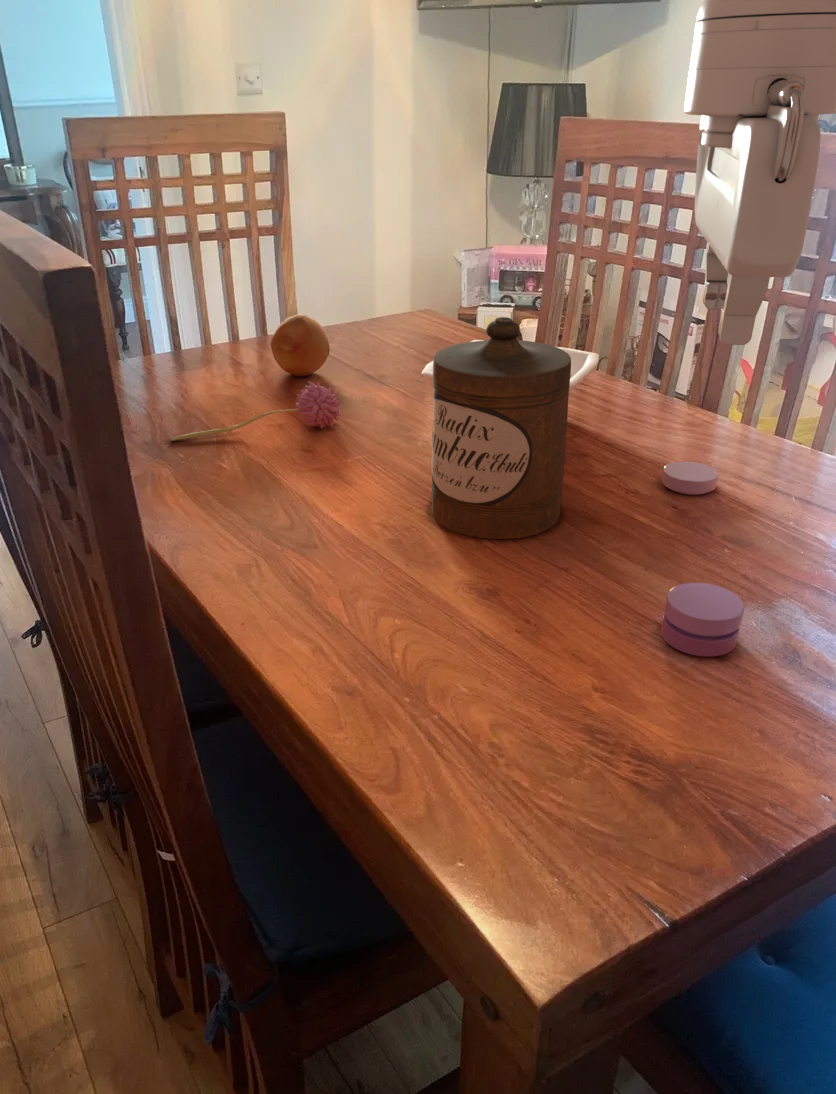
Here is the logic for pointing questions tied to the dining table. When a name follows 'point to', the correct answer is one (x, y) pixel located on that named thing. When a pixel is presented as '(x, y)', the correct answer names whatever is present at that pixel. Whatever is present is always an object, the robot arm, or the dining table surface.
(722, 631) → the lavender disc
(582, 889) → the dining table surface
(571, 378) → the bowl
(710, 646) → the mauve disc
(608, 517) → the dining table surface
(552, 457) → the wooden container
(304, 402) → the artificial flower
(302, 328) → the onion
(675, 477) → the pale pink disc
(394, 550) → the dining table surface
